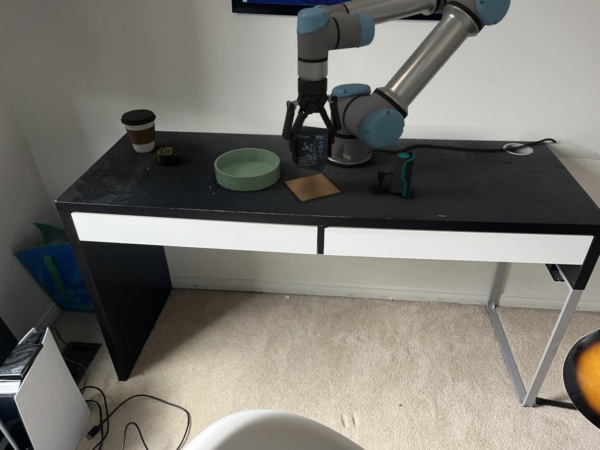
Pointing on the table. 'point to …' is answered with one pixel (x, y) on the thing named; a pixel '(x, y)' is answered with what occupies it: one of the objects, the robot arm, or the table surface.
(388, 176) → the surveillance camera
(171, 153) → the tape measure
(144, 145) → the coffee cup
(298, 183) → the mat
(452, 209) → the table surface
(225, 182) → the bowl
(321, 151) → the box
